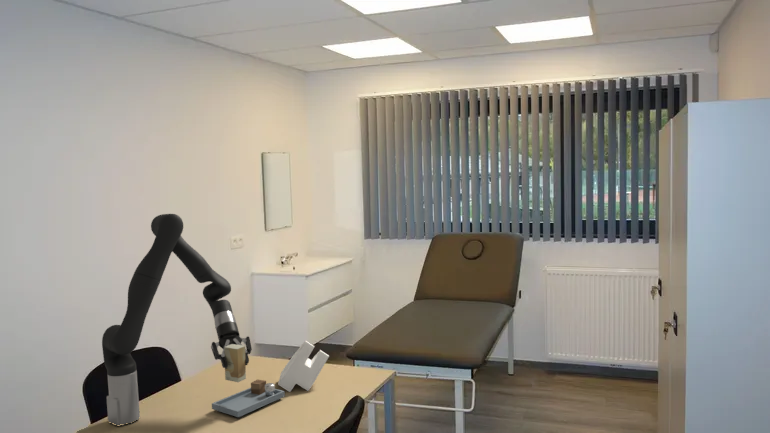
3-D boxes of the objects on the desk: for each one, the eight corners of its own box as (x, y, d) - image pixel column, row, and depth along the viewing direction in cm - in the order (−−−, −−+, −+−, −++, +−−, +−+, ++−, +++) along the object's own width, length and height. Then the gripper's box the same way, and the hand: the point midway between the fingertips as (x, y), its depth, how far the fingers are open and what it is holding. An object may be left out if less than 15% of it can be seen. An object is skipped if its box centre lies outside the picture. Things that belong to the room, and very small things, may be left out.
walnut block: (260, 394, 222) (259, 384, 222) (251, 393, 224) (250, 382, 224) (266, 391, 226) (266, 380, 225) (258, 389, 228) (257, 379, 227)
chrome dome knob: (269, 397, 219) (269, 387, 219) (263, 395, 221) (262, 385, 221) (277, 394, 222) (276, 384, 221) (270, 392, 224) (269, 382, 224)
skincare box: (224, 380, 213) (223, 346, 212) (233, 376, 217) (231, 343, 216) (238, 382, 210) (237, 348, 209) (247, 378, 214) (245, 345, 213)
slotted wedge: (301, 399, 230) (328, 361, 229) (277, 384, 228) (304, 345, 228) (303, 387, 243) (329, 350, 243) (281, 372, 242) (306, 336, 242)
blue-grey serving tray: (238, 420, 204) (237, 411, 204) (212, 411, 212) (211, 403, 212) (284, 399, 222) (284, 391, 222) (259, 391, 230) (258, 384, 230)
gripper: (207, 323, 215) (217, 364, 206) (247, 317, 222) (258, 357, 213) (205, 334, 220) (214, 375, 211) (243, 328, 227) (254, 367, 218)
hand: (236, 365), depth 212 cm, fingers closed on skincare box, 6 cm apart
